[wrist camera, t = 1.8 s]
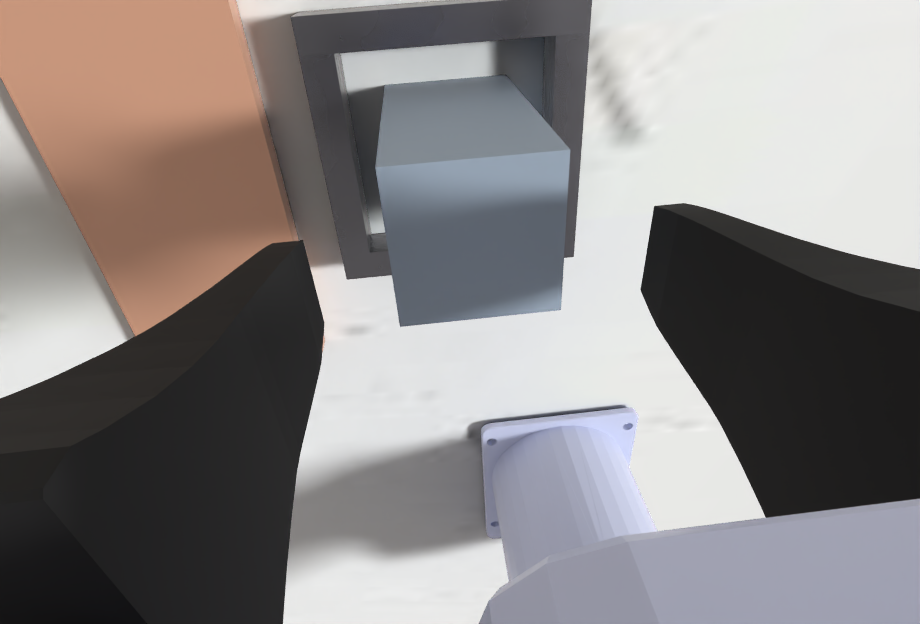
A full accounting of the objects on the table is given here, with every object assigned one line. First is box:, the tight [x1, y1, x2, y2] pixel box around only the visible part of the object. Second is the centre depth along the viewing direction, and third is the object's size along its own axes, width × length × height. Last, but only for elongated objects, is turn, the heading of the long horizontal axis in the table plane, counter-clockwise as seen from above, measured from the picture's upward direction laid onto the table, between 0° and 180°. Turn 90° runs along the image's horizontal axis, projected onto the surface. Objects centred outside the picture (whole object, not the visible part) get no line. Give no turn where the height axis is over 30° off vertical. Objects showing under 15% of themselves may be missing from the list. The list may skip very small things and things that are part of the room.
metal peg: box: [375, 75, 570, 327], centre depth 15 cm, size 4×4×8 cm
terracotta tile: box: [0, 0, 325, 352], centre depth 18 cm, size 16×7×1 cm, turn 3°
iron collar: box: [291, 0, 592, 279], centre depth 18 cm, size 8×8×2 cm
